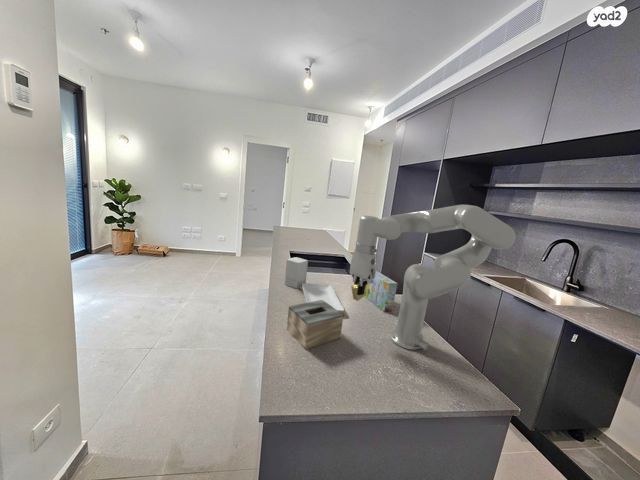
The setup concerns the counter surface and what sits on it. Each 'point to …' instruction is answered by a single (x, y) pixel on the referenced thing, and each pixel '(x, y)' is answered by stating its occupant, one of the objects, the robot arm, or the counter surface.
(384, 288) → the snack box
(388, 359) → the counter surface
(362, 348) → the counter surface
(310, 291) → the tray
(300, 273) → the supplement box
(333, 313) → the box
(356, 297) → the block
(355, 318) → the counter surface
